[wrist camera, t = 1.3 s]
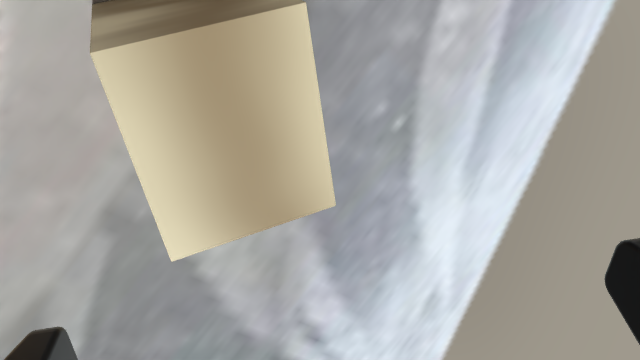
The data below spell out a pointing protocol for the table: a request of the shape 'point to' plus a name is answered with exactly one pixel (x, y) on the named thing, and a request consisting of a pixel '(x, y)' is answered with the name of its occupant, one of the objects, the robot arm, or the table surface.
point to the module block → (216, 113)
